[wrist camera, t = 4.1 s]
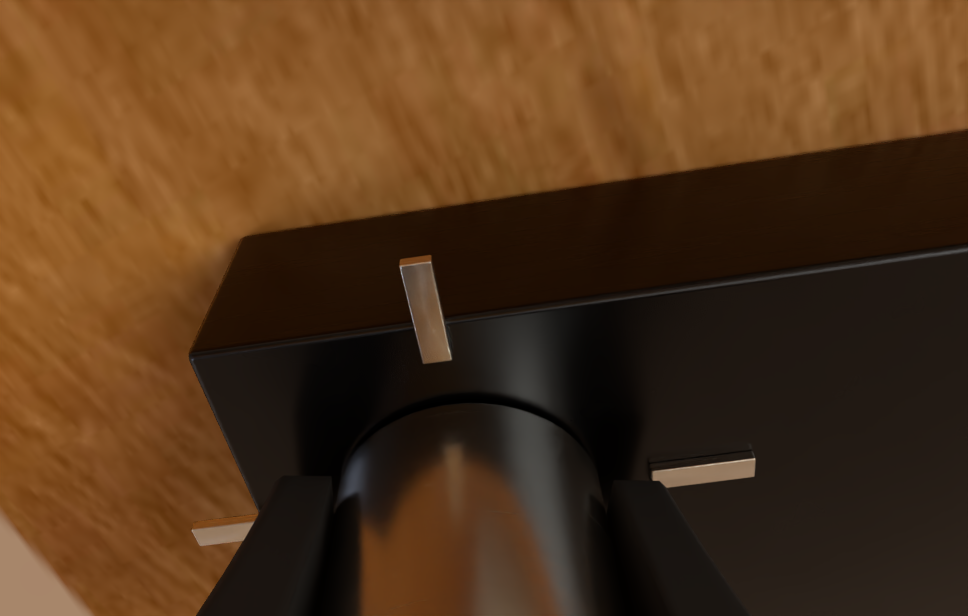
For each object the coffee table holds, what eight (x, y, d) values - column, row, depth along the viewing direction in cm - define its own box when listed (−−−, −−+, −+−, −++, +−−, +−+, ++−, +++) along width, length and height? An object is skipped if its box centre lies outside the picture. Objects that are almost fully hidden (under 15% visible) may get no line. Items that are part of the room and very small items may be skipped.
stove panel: (364, 677, 19) (349, 823, 16) (160, 189, 11) (73, 313, 9) (1004, 603, 18) (1099, 745, 15) (1223, 29, 11) (1476, 111, 8)
